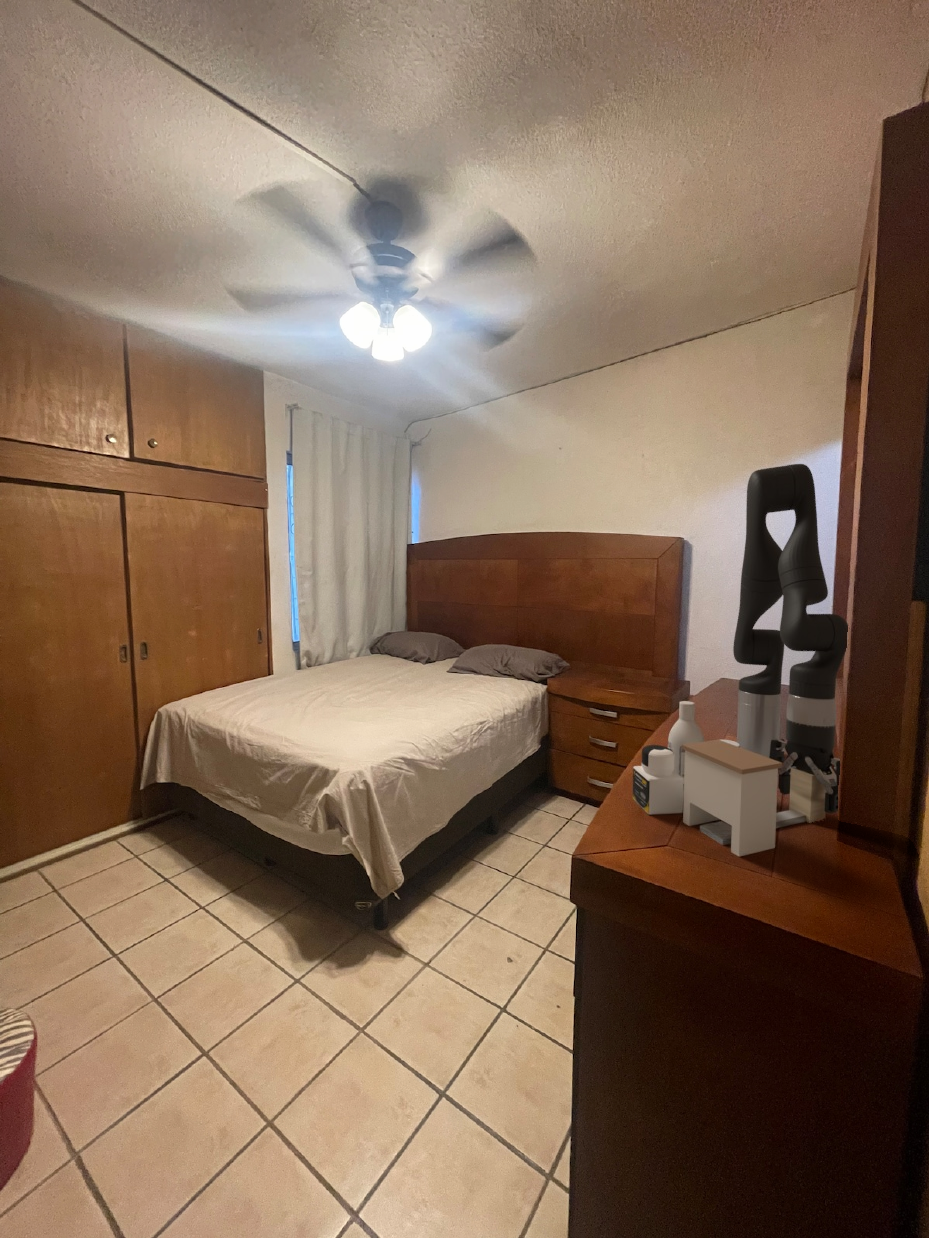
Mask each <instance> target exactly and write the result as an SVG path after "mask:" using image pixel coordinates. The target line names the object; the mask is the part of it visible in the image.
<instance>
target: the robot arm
mask: <svg viewBox="0 0 929 1238" xmlns="http://www.w3.org/2000/svg"><path fill="white" fill-rule="evenodd" d="M746 488H747V489H746V511H745V512H746V513H745V514H746V516H745V519H746V520H745V521H746V522H745V523H746V526H745V543H744V551H743V552H744V553H743V562H742V567H741V576H740V589H739V591H740V593H739V607H738V608H739V610H738V615H737V623H736V628H735V631H734V632H735V633H734V638H733V649H732V651H733V658H734V659H735V661H736V662H737V663H739V664H743V665H750V666H751V665H753V666H754V665H755V666H765V668H764V670H762V671H760V672H758V673H756V674H752V675H749V676H744V677H741V678H740V679H739V681H738V695H737V696H738V698H737V701H738V704H737V725H736V726H737V731H736V742H737V743H739V744H740V748H743V749H746V750H748V751H751V752H754V753H756V754H759V755H762V756H765V757H767V758H770V759H773V760H776V761H778V762H781V763H782V768H778V781H777V788H778V790H779V792H780V794H783V795H790V778H791V768H796V769H798V770H802V771H806V772H807V773H809V774H812V775H814V774H815V776H816V778H817V780H818V781H819V782H821V783H822V784H823V786H824V788H825V790H826V793H825V813H827V814H831V815H832V814H835V813H837V812H839V810H838V785H839V775H840V759H841V758H838V757H835V755H834V753H833V751H834V748H835V745H836V726H837V725H836V724H837V723H836V721H837V706H836V683H837V682H836V681H837V680H836V679H837V675H838V672H839V670H840V667H841V664H842V663H843V659H844V657H845V654H846V652H847V650H846V648H847V649H848V647H847V632H848V626H849V623H848V622H847V621H846V619H845V618H843V616H840V615H839V614H834V613H808V612H807V608H808V606H813V605H817V604H819V603H822V602H823V601H825V600H826V599H827V598H828V596H829V589H828V585H827V581H826V577H825V576H826V575H825V572H824V568H823V565H822V561H821V560H822V559H821V555H820V554H821V553H820V547H819V537H818V536H819V533H818V514H817V499H816V487H815V480H814V477H813V474H812V471H811V469H810V468H809V466H808V465H806V464H804V463H794V464H787V465H781V466H775V467H768V468H761V469H757V470H755V471H753V472H752V473H750V476H749V478H748V482H747V487H746ZM788 511H794V515H795V521H794V522H795V523H794V526H793V528H792V531H791V534H790V536H789V537H788V540H787V541H786V543H785V545H784V547H783V550H782V548H781V546H780V545H779V544H778V543H777V542H776V540H775V538H773V537H772V535H771V533H770V531H769V529H768V527H767V515H768V514H769V513H770V514H771V513H778V512H788ZM782 597H783V598H782ZM781 598H782V608H781V609H782V610H781V619H780V624H779V630H778V629H767V628H766V629H765V628H764V629H763V628H762V629H761V628H758V629H757V628H754V627H755V625H756V623H757V622H758V621H759V619H760V618H762V616H763V615H764V614H766V612H768V610H769V609H771V608H772V607H773V606H774V605H775V604H776V603H777V602H778V601H779V600H780V599H781ZM785 647H787V648H788V649H789V650H791V651H793V652H814V653H813V655H812V657H811V659H810V660H807V661H805V662H800V663H796V664H793V665H792V666H791V667H790V669H789V682H788V683H789V685H788V686H789V688H788V689H789V690H788V698H787V703H786V716H785V717H786V721H785V739H786V741H785V739H784V738H782V735H783V733H782V731H783V730H782V729H783V722H782V721H781V702H782V701H781V698H782V695H781V694H782V675H783V674H782V673H783V663H784V662H783V661H784V653H785ZM785 752H786V754H787V755H788V757H787V758H786V759H785V760H784V757H785ZM832 766H833V767H832ZM835 771H836V772H835ZM823 773H826V774H827V775H824V774H823Z"/></svg>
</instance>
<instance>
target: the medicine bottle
mask: <svg viewBox="0 0 929 1238" xmlns="http://www.w3.org/2000/svg"><path fill="white" fill-rule="evenodd" d="M632 799H633V800H634V802H636V804H637V805H638V806H639V807H640V808H641V809H642V810H643V811H644V812H645V813H646V814H647V815H649V816H650V815H652V816H653V815H669V814H670V815H671V814H683V808H684V801H683V778H682V777H681V776H679V775H678V774H677V773H675V772H674V752H673V751H672V750H671V749H669V748H668V746H664V745H659V744H650V745H645V746H644V747H642V748H641V765H634V766H633V767H632Z"/></svg>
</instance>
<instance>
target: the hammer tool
mask: <svg viewBox="0 0 929 1238" xmlns="http://www.w3.org/2000/svg"><path fill="white" fill-rule="evenodd" d="M823 774H824V775H827V774H826V772H824V773H823ZM790 775H791V778H790V794H789V804H788V805H789V806H788V810H784V811H783V810H782V811H779V812H776V829H778V828H779V829H780V828H783V827H787V826H788V827H789V826H791V825H796V824H801V823H805V822H806V821H807V823H808V824H813V823H815V822H814V821H818V820H819V819H822V818H825V819H826V812H825V793H826V792H827V791H826V790H825V788H824V786H823V784H822V783H821V782H819V781H818V780H817V778H816V776H815V774H814V775H812V774H809V773H807V772H806V771H802V770H798V769H796V768H791V773H790ZM812 822H813V823H812ZM818 822H819V821H818Z"/></svg>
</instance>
